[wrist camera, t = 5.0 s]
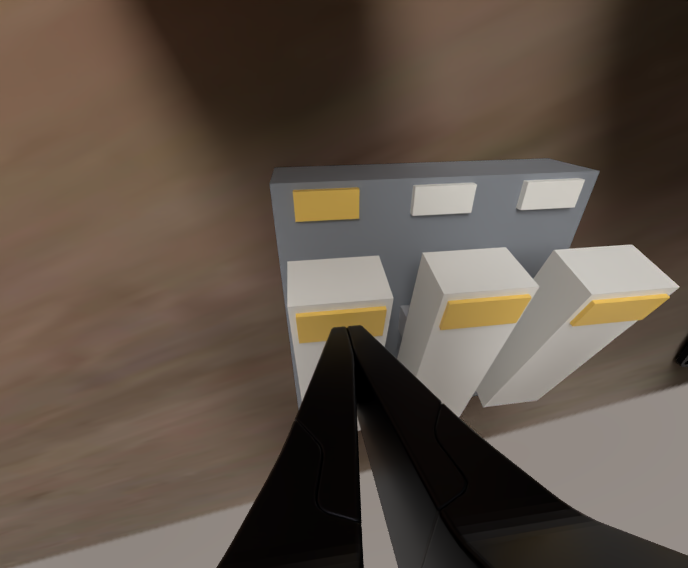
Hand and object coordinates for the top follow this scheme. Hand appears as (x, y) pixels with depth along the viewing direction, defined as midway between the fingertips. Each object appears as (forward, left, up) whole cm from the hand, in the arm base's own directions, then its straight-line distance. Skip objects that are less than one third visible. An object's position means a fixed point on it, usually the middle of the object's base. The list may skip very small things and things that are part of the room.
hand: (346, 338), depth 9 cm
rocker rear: (-9, +3, -2) cm, 10 cm away
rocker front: (0, +3, -2) cm, 4 cm away
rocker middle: (-4, +3, -2) cm, 6 cm away
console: (-4, +3, -8) cm, 10 cm away
